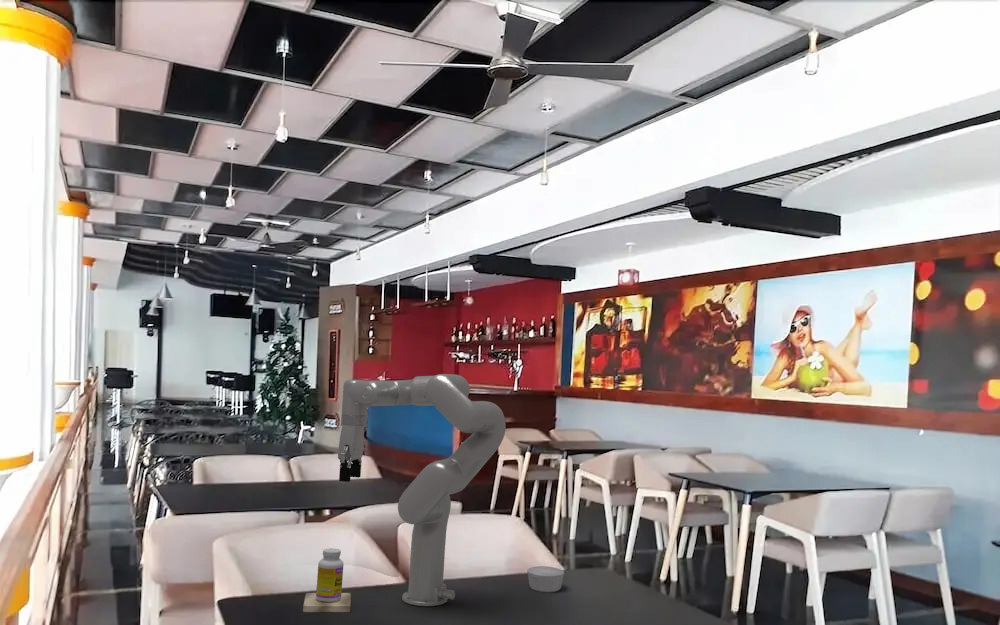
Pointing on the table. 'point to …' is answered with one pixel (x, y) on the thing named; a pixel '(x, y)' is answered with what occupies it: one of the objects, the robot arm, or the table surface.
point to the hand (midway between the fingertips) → (349, 479)
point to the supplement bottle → (330, 576)
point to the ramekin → (545, 578)
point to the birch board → (327, 604)
